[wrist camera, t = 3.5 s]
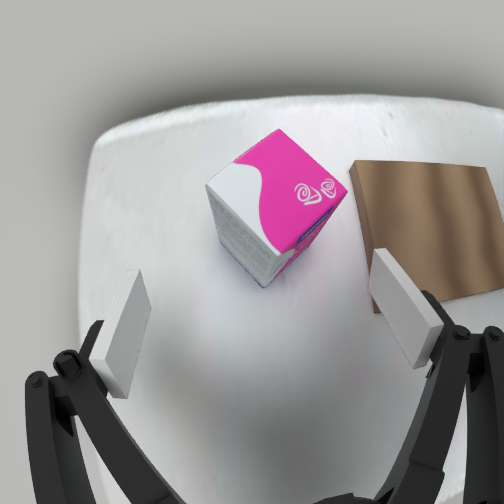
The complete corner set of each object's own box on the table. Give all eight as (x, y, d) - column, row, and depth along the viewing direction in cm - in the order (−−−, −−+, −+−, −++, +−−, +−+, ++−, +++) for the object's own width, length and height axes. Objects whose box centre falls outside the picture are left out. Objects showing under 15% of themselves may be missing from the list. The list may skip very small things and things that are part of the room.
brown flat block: (476, 174, 29) (485, 167, 27) (504, 287, 26) (515, 284, 24) (349, 170, 29) (354, 160, 27) (374, 313, 25) (383, 311, 24)
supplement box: (265, 291, 26) (275, 259, 15) (218, 242, 27) (197, 180, 16) (313, 246, 27) (351, 188, 16) (267, 200, 28) (275, 122, 17)
